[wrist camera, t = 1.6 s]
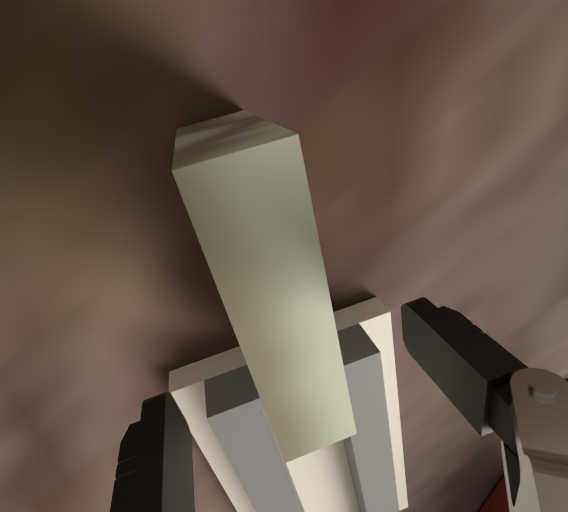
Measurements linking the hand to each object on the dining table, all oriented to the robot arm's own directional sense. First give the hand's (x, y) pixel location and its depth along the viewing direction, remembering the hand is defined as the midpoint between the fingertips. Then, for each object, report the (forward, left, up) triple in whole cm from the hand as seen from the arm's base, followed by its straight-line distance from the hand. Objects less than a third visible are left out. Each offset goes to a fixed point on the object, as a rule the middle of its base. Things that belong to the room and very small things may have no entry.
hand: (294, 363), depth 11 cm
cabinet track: (0, +22, -11) cm, 25 cm away
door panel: (0, 0, -11) cm, 11 cm away
